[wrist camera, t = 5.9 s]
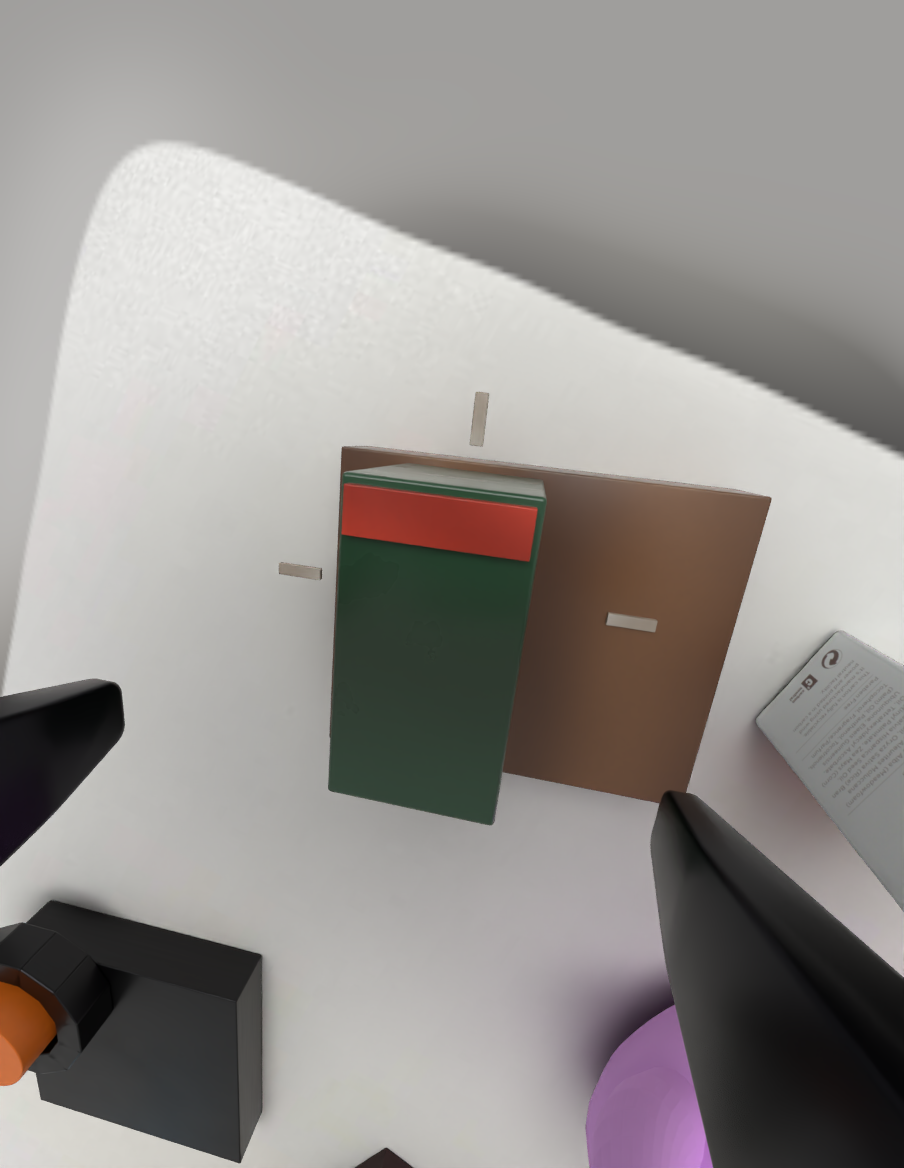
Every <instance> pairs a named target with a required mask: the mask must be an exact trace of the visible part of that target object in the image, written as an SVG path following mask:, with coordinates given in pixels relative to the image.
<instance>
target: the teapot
mask: <svg viewBox="0 0 904 1168" xmlns="http://www.w3.org/2000/svg"><path fill="white" fill-rule="evenodd" d="M586 1137H587V1148H588V1158H589V1166H590V1168H713V1165H712V1161H711V1157H710V1152H709V1148H708V1144H707V1140H706V1135H705V1131H704V1127H703V1123H702V1118H701V1114H700V1110H699V1106H698V1101H697V1097H696V1093H695V1088H694V1084H693V1080H692V1076H691V1071H690V1067H689V1063H688V1059H687V1054H686V1050H685V1046H684V1042H683V1037H682V1033H681V1029H680V1024H679V1020H678V1016H677V1012H676V1007H675V1005H673V1006H671V1007H669V1008H667V1009H666V1010H664V1011H663V1012H661V1013H660V1014H658V1015H656V1016H655V1017H653V1018H652V1019H650V1020H649V1021H647V1022H646V1023H645V1024H644V1025H642V1026H641V1027H640V1028H638V1029H637V1030H636V1031H635V1032H634V1033H632V1034H631V1035H630V1036H629V1037H628V1038H627V1039H626V1040H625V1041H624V1042H623V1043H621V1044H620V1046H619V1047H618V1048H617V1049H616V1051H615V1052H614V1053H613V1054H612V1055H611V1057H610V1059H609V1061H608V1063H607V1064H606V1066H605V1068H604V1070H603V1072H602V1074H601V1076H600V1078H599V1081H598V1083H597V1085H596V1087H595V1089H594V1092H593V1094H592V1097H591V1099H590V1102H589V1107H588V1114H587V1121H586Z"/></svg>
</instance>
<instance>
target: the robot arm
mask: <svg viewBox="0 0 904 1168" xmlns="http://www.w3.org/2000/svg"><path fill="white" fill-rule="evenodd" d="M124 727H125V721H124V710H123V700H122V691H121V688H120V687H119V685H118V684H116V683H115V682H111V681H106V680H101V679H87V680H82V681H77V682H72V683H67V684H62V685H58V686H53V687H48V688H43V689H38V690H33V691H28V692H23V693H18V694H13V695H8V696H3V697H0V866H1V865H2V864H3V863H4V862H5V861H6V860H8V859H9V858H10V857H11V856H12V855H13V854H14V853H15V852H16V851H17V850H18V849H19V848H20V847H21V846H22V845H23V844H24V843H25V842H26V841H27V840H28V839H29V838H30V837H31V836H32V835H33V834H34V833H35V832H36V831H37V830H38V829H39V828H40V827H41V826H42V825H43V824H44V823H45V822H46V821H47V820H48V819H49V818H50V817H51V816H52V815H53V814H54V813H55V812H56V811H57V810H58V809H59V807H60V806H61V805H62V804H63V803H64V802H65V801H66V800H67V799H68V797H69V796H70V795H71V794H72V793H73V792H74V791H75V789H76V788H77V787H78V786H79V785H80V784H81V783H82V781H83V780H84V779H85V778H86V777H87V776H88V775H89V774H90V772H91V771H92V770H93V769H94V768H95V767H96V766H97V764H98V763H99V762H100V761H101V760H102V759H103V758H104V757H105V755H106V754H107V753H108V752H109V751H110V750H111V749H112V747H113V746H114V745H115V744H116V743H117V742H118V740H119V739H120V738H121V736H122V734H123V731H124ZM650 845H651V858H652V865H653V873H654V881H655V888H656V896H657V904H658V912H659V919H660V927H661V935H662V943H663V949H664V956H665V963H666V967H667V972H668V977H669V982H670V986H671V990H672V995H673V999H674V1003H675V1007H676V1012H677V1016H678V1020H679V1024H680V1029H681V1033H682V1037H683V1042H684V1046H685V1050H686V1054H687V1059H688V1063H689V1067H690V1071H691V1076H692V1080H693V1084H694V1088H695V1093H696V1097H697V1101H698V1106H699V1110H700V1114H701V1118H702V1123H703V1127H704V1131H705V1135H706V1140H707V1144H708V1148H709V1152H710V1157H711V1161H712V1165H713V1168H904V978H903V977H902V976H901V975H900V974H899V973H898V972H897V971H895V970H894V969H893V968H892V967H891V966H890V965H889V964H888V963H886V962H885V961H884V960H883V959H882V958H881V957H880V956H878V955H877V954H876V953H875V952H874V951H873V950H872V949H870V948H869V947H868V946H867V945H866V944H865V943H864V942H862V941H861V940H860V939H859V938H858V937H857V936H856V935H854V934H853V933H852V932H851V931H850V930H849V929H848V928H847V927H845V926H844V925H843V924H842V923H841V922H840V921H839V920H837V919H836V918H835V917H834V916H833V915H832V914H831V913H829V912H828V911H827V910H826V909H825V908H824V907H823V906H821V905H820V904H819V903H818V902H817V901H816V900H815V899H813V898H812V897H811V896H810V895H809V894H808V893H807V892H806V891H804V890H803V889H802V888H801V887H800V886H799V885H798V884H796V883H795V882H794V881H793V880H792V879H791V878H790V877H788V876H787V875H786V874H785V873H784V872H783V871H782V870H780V869H779V868H778V867H777V866H776V865H775V864H774V863H772V862H771V861H770V860H769V859H768V858H767V857H766V856H765V855H763V854H762V853H761V852H760V851H759V850H758V849H757V848H755V847H754V846H753V845H752V844H751V843H750V842H749V841H747V840H746V839H745V838H744V837H743V836H742V835H741V834H739V833H738V832H737V831H736V830H735V829H734V828H733V827H731V826H730V825H729V824H728V823H727V822H726V821H725V820H724V819H722V818H721V817H720V816H719V815H718V814H717V813H716V812H714V811H713V810H712V809H711V808H710V807H709V806H708V805H706V804H705V803H704V802H703V801H702V800H701V799H700V798H698V797H697V796H696V795H693V794H690V793H684V792H679V791H674V790H667V791H665V792H664V794H663V795H662V798H661V801H660V805H659V808H658V812H657V816H656V819H655V823H654V827H653V830H652V834H651V844H650Z"/></svg>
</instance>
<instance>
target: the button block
mask: <svg viewBox="0 0 904 1168" xmlns="http://www.w3.org/2000/svg"><path fill="white" fill-rule="evenodd" d="M0 982H4V983H7V984H11V985H14V986H18V987H19V988H21V989H22V990H24V991H25V992H26V993H28V994H29V995H31V996H32V997H34V998H35V999H36V1000H38V1001H39V1002H40V1003H41V1005H42V1006H43V1007H44V1009H45V1010H46V1011H47V1013H48V1014H49V1015H50V1017H51V1018H52V1019H53V1021H54V1022H55V1026H56V1032H57V1034H56V1036H55V1037H54V1038H53V1039H52V1041H51V1042H50V1043H49V1044H48V1045H47V1047H46V1048H45V1049H44V1050H43V1052H42V1053H41V1054H40V1055H39V1057H38V1058H37V1059H36V1060H35V1061H34V1063H33V1064H32V1065H31V1066H30V1068H29V1069H28V1070H29V1071H32V1072H35V1073H36V1077H37V1082H38V1087H39V1092H40V1097H41V1100H44V1101H47V1102H50V1103H53V1104H56V1105H59V1106H63V1107H66V1108H69V1109H72V1110H75V1111H78V1112H81V1113H84V1114H87V1115H91V1116H94V1117H97V1118H100V1119H103V1120H106V1121H109V1122H112V1123H115V1124H119V1125H122V1126H125V1127H128V1128H131V1129H134V1130H137V1131H140V1132H143V1133H147V1134H150V1135H153V1136H156V1137H159V1138H162V1139H165V1140H168V1141H171V1142H175V1143H178V1144H181V1145H184V1146H187V1147H190V1148H193V1149H196V1150H199V1151H203V1152H206V1153H209V1154H212V1155H215V1156H218V1157H221V1158H224V1159H227V1160H231V1161H234V1162H237V1163H241V1161H242V1158H243V1156H244V1153H245V1151H246V1148H247V1146H248V1144H249V1141H250V1139H251V1136H252V1134H253V1132H254V1129H255V1127H256V1124H257V1122H258V1119H259V1117H260V1115H261V1112H262V1012H261V955H258V954H254V953H250V952H246V951H243V950H239V949H235V948H231V947H227V946H224V945H220V944H216V943H212V942H208V941H205V940H201V939H197V938H193V937H189V936H185V935H182V934H178V933H174V932H170V931H166V930H163V929H159V928H155V927H151V926H147V925H143V924H140V923H136V922H132V921H128V920H124V919H121V918H117V917H113V916H109V915H105V914H102V913H98V912H94V911H90V910H86V909H82V908H79V907H75V906H71V905H67V904H63V903H60V902H56V901H52V900H50V901H49V902H48V903H47V904H46V905H45V906H44V907H43V908H42V909H41V910H39V911H38V912H37V913H36V914H35V915H34V916H33V917H32V918H31V919H30V920H29V921H28V922H27V923H23V922H22V923H18V924H14V925H10V926H6V927H2V928H0Z"/></svg>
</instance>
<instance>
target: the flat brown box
mask: <svg viewBox="0 0 904 1168" xmlns="http://www.w3.org/2000/svg"><path fill="white" fill-rule="evenodd" d="M488 400H489V393H483V392H476V394H475V403H474V411H473V420H472V429H471V438H470V445H474V446H483V441H484V433H485V424H486V416H487V408H488ZM405 463H411V464H419V465H427V466H435V467H443V468H452V469H460V470H468V471H476V472H484V473H492V474H500V475H508V476H516V477H524V478H532V479H540V480H542V481H543V483H544V488H545V494H546V499H547V505H546V511H545V517H544V523H543V529H542V535H541V541H540V547H539V554H538V560H537V566H536V572H535V578H534V584H533V590H532V596H531V602H530V608H529V614H528V620H527V626H526V632H525V638H524V644H523V651H522V657H521V663H520V669H519V675H518V681H517V687H516V693H515V699H514V705H513V711H512V717H511V723H510V729H509V735H508V741H507V748H506V754H505V760H504V766H503V772H505V773H510V774H515V775H520V776H525V777H530V778H535V779H540V780H545V781H550V782H555V783H560V784H565V785H570V786H575V787H581V788H586V789H591V790H596V791H601V792H606V793H611V794H616V795H621V796H626V797H631V798H636V799H641V800H646V801H651V802H656V803H660V801H661V798H662V795H663V794H664V792H665V791H667V790H674V791H679V792H684V793H686V791H687V787H688V784H689V780H690V777H691V773H692V770H693V767H694V763H695V760H696V756H697V753H698V750H699V746H700V743H701V739H702V736H703V732H704V729H705V726H706V722H707V719H708V715H709V712H710V708H711V705H712V702H713V698H714V695H715V691H716V688H717V684H718V681H719V678H720V674H721V671H722V667H723V664H724V660H725V657H726V654H727V650H728V647H729V643H730V640H731V636H732V633H733V630H734V626H735V623H736V619H737V616H738V612H739V609H740V606H741V602H742V599H743V595H744V592H745V589H746V585H747V582H748V578H749V575H750V571H751V568H752V565H753V561H754V558H755V554H756V551H757V547H758V544H759V541H760V537H761V534H762V530H763V527H764V523H765V520H766V517H767V513H768V510H769V506H770V503H771V498H770V497H768V496H763V495H758V494H754V493H749V492H745V491H740V490H736V489H728V488H719V487H711V486H702V485H694V484H685V483H677V482H668V481H660V480H651V479H643V478H634V477H626V476H617V475H609V474H601V473H592V472H584V471H575V470H567V469H558V468H550V467H541V466H533V465H524V464H516V463H507V462H499V461H490V460H482V459H473V458H465V457H456V456H448V455H440V454H431V453H423V452H414V451H406V450H397V449H389V448H380V447H372V446H344V447H342V455H341V479H340V502H339V526H338V550H337V573H336V597H335V620H334V644H333V668H332V691H331V715H332V693H333V671H334V649H335V627H336V606H337V584H338V562H339V540H340V518H341V496H342V475H343V473H344V472H347V471H354V470H361V469H368V468H376V467H383V466H391V465H398V464H405ZM279 574H283V575H290V576H296V577H303V578H309V579H315V580H321V579H322V568H316V567H309V566H303V565H296V564H290V563H283V562H281V563H279ZM331 715H330V737H331Z"/></svg>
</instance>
